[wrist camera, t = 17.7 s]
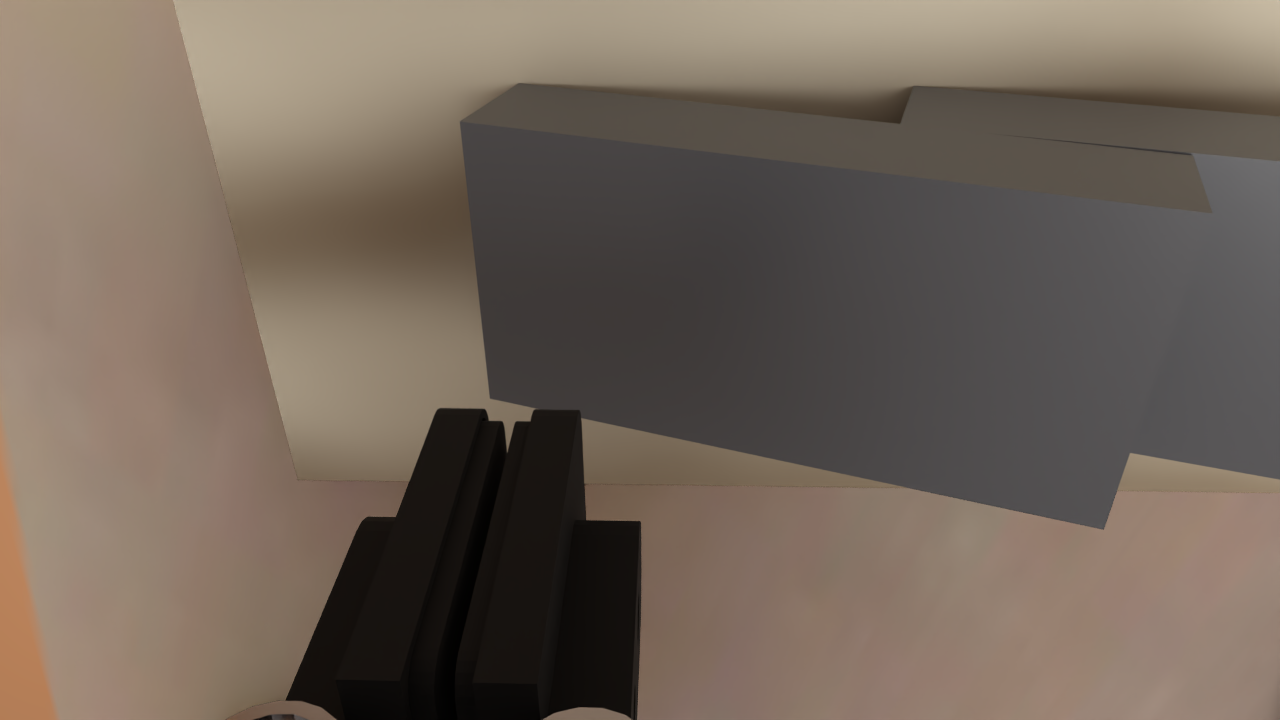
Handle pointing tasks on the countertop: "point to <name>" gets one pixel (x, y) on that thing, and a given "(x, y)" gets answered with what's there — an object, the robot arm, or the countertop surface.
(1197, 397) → the domino
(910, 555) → the countertop surface
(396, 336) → the board
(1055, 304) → the domino
